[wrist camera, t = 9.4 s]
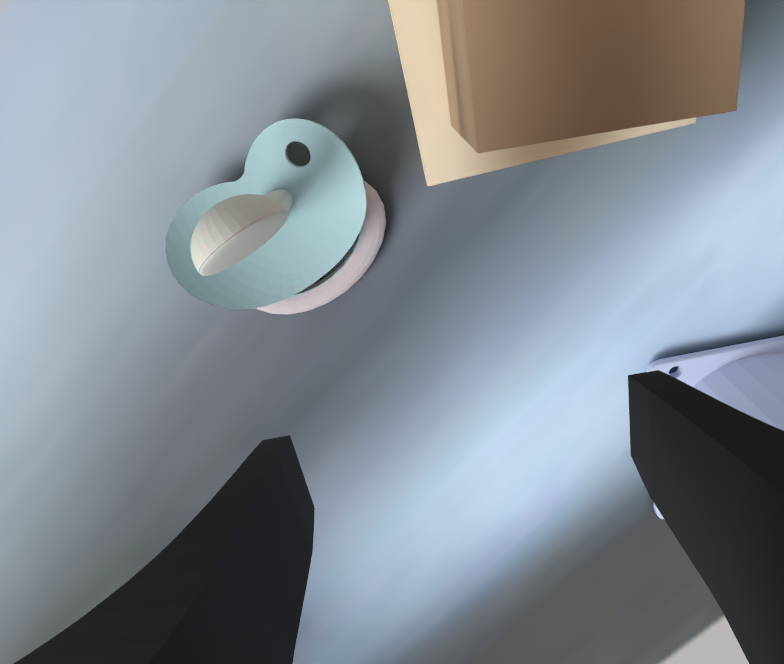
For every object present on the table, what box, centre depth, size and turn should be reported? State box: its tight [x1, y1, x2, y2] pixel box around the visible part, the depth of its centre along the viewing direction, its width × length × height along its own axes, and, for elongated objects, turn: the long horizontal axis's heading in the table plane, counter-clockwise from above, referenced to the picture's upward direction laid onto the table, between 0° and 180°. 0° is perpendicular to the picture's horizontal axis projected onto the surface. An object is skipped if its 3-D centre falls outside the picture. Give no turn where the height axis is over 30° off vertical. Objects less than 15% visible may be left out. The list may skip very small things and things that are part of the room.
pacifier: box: [166, 118, 386, 314], centre depth 18 cm, size 7×6×6 cm
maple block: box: [388, 0, 696, 186], centre depth 17 cm, size 8×8×3 cm
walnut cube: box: [437, 0, 745, 153], centre depth 13 cm, size 5×5×6 cm
